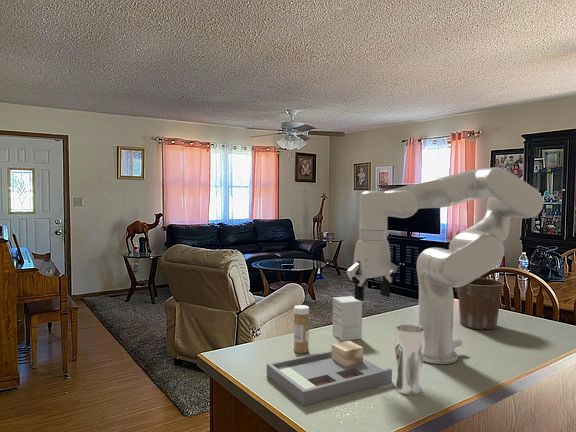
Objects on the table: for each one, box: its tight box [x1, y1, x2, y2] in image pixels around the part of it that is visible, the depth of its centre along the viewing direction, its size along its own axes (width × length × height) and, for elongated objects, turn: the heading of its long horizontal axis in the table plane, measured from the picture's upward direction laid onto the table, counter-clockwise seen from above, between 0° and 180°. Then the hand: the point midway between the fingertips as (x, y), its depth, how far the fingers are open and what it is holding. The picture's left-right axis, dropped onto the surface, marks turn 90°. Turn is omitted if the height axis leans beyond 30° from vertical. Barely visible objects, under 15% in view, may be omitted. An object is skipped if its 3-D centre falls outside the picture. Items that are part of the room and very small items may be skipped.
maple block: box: [331, 340, 364, 366], centre depth 117 cm, size 6×6×4 cm
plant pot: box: [456, 277, 505, 331], centre depth 156 cm, size 16×16×16 cm
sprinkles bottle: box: [293, 304, 310, 354], centre depth 129 cm, size 5×5×13 cm
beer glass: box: [394, 323, 425, 396], centre depth 104 cm, size 7×7×15 cm
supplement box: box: [332, 295, 363, 342], centre depth 142 cm, size 7×7×13 cm
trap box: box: [266, 349, 393, 407], centre depth 110 cm, size 26×18×3 cm
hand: (372, 297), depth 120 cm, fingers open, 8 cm apart
